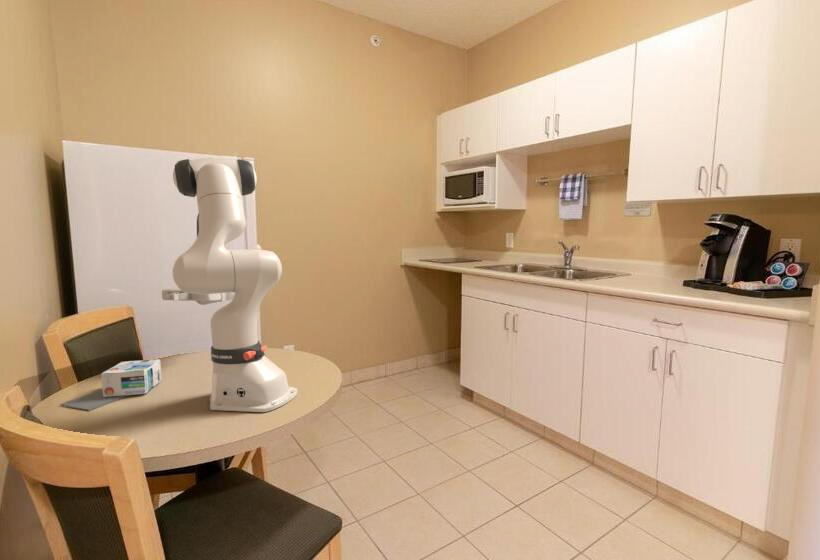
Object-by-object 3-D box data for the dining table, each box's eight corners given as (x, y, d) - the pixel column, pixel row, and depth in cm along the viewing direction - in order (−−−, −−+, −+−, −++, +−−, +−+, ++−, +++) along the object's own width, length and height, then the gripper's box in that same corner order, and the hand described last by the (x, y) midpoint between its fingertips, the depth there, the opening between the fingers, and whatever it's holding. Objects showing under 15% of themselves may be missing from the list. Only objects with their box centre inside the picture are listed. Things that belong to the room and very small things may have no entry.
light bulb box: (160, 358, 119) (144, 369, 108) (162, 380, 120) (146, 394, 109) (120, 361, 117) (99, 373, 106) (122, 384, 117) (102, 397, 107)
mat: (142, 390, 113) (142, 388, 113) (89, 411, 100) (89, 409, 100) (114, 385, 117) (114, 384, 117) (59, 405, 104) (59, 404, 104)
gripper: (182, 282, 144) (145, 287, 131) (227, 282, 138) (194, 287, 125) (183, 300, 145) (147, 306, 132) (229, 301, 138) (196, 307, 125)
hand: (170, 297), depth 128 cm, fingers closed
